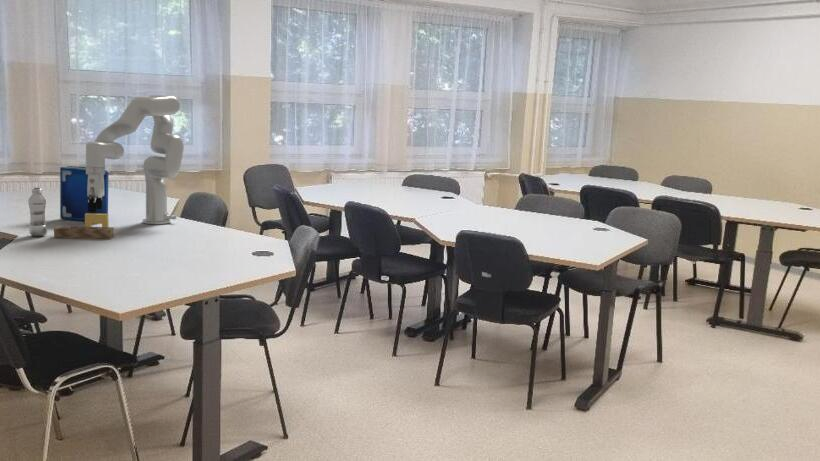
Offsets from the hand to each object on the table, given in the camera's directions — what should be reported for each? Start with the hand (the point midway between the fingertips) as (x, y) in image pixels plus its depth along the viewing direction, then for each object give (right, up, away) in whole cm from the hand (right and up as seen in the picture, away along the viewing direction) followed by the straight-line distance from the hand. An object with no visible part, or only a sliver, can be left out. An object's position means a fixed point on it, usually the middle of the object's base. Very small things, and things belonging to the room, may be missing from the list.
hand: (95, 210), depth 311 cm
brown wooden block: (0, -12, -10) cm, 15 cm away
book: (-17, -4, +27) cm, 32 cm away
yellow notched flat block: (0, -9, +2) cm, 10 cm away
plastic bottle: (-18, -11, -13) cm, 25 cm away
